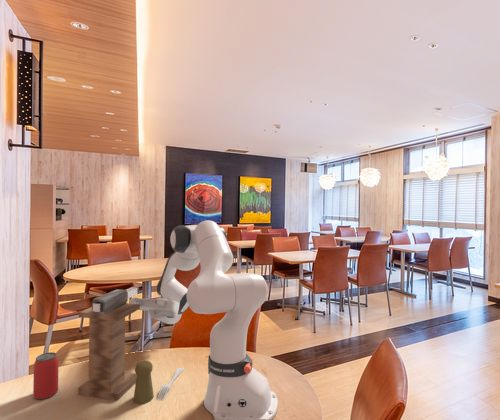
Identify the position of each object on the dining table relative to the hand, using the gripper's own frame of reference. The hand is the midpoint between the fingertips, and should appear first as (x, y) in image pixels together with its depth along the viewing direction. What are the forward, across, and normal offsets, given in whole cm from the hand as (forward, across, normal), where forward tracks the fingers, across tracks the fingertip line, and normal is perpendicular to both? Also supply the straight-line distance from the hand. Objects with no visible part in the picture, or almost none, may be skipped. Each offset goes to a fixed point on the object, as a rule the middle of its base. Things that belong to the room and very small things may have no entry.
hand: (145, 300), depth 124 cm
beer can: (+14, -17, +34) cm, 41 cm away
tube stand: (+7, 0, +30) cm, 31 cm away
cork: (+10, +14, +32) cm, 36 cm away
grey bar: (+17, 0, +5) cm, 18 cm away
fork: (+1, +18, +28) cm, 33 cm away
